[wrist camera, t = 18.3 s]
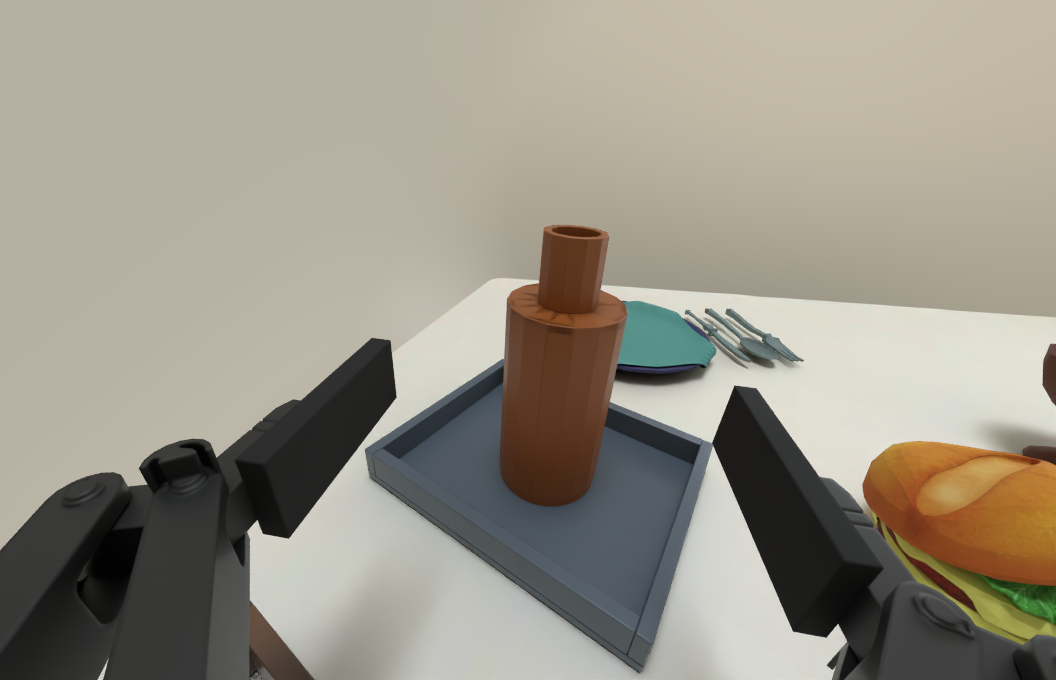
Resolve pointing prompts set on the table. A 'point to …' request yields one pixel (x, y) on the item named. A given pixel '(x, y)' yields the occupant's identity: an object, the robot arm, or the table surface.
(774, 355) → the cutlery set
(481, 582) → the table surface
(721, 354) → the table surface
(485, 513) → the tray
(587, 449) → the bottle
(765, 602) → the table surface
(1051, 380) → the ice cream bowl
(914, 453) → the cheeseburger
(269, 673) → the tray
